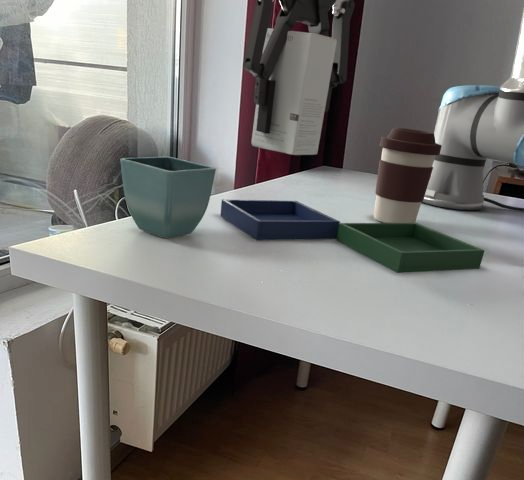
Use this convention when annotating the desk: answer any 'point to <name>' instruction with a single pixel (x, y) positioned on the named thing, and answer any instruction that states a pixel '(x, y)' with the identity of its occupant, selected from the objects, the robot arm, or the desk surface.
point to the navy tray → (279, 220)
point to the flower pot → (166, 193)
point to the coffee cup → (404, 174)
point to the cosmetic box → (298, 94)
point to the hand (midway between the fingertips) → (288, 134)
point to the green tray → (409, 247)
